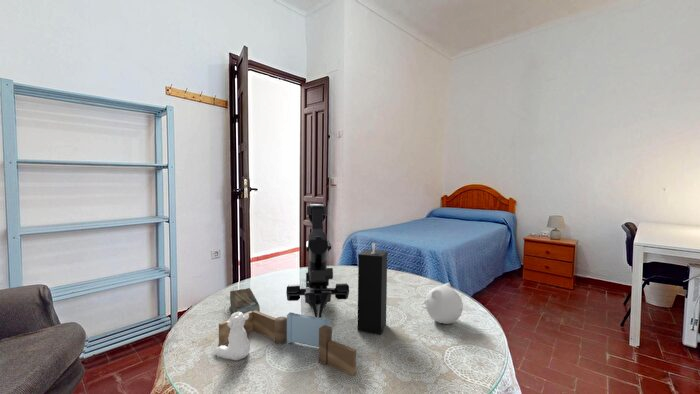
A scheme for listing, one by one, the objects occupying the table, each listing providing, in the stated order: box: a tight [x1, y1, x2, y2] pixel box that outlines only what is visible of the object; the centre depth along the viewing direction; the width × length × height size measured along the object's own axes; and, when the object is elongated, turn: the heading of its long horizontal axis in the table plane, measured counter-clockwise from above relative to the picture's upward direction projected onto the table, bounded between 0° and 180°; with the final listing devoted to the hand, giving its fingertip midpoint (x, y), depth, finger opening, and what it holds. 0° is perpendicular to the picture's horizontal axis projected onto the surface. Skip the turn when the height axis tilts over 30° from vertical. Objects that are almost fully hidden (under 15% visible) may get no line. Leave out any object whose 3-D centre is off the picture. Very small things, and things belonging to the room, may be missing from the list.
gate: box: [286, 311, 332, 348], centre depth 87 cm, size 13×2×8 cm, turn 70°
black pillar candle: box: [357, 242, 388, 335], centre depth 98 cm, size 8×8×28 cm
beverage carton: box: [229, 287, 261, 314], centre depth 109 cm, size 8×19×6 cm, turn 28°
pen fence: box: [218, 310, 357, 376], centre depth 82 cm, size 14×40×9 cm, turn 55°
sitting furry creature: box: [214, 312, 251, 361], centre depth 82 cm, size 10×9×12 cm
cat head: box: [420, 282, 464, 325], centre depth 103 cm, size 15×13×12 cm
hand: (318, 320), depth 87 cm, fingers closed
